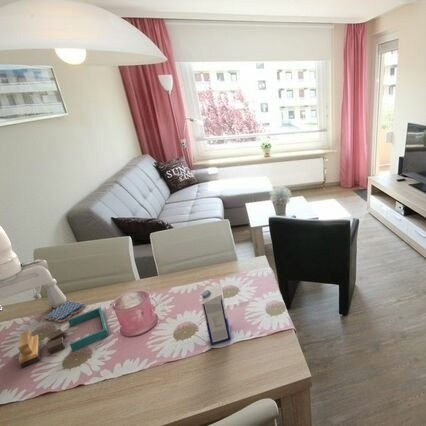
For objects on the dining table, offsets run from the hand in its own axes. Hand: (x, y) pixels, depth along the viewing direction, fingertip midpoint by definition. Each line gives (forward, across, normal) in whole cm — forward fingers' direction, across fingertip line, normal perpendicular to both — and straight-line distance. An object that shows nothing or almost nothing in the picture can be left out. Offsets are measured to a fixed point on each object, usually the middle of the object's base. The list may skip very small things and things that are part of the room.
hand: (19, 304), depth 98 cm
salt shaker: (+20, -6, -28) cm, 35 cm away
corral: (+20, -14, +1) cm, 24 cm away
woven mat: (+20, -8, -19) cm, 29 cm away
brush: (+20, +2, +1) cm, 20 cm away
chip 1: (+20, -4, -2) cm, 20 cm away
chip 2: (+20, -4, +4) cm, 20 cm away
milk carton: (+20, -49, +41) cm, 67 cm away
